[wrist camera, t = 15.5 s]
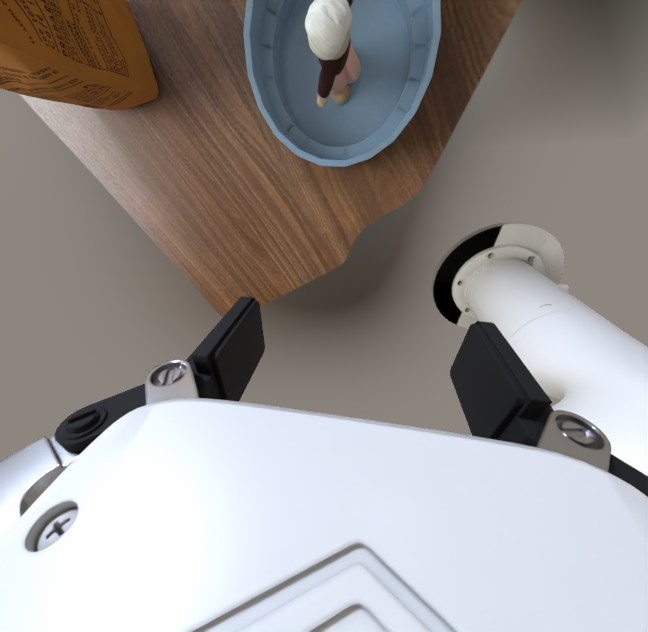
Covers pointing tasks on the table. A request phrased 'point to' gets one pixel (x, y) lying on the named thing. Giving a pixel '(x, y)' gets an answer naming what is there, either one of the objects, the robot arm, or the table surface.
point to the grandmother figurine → (332, 48)
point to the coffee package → (75, 53)
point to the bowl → (365, 93)
